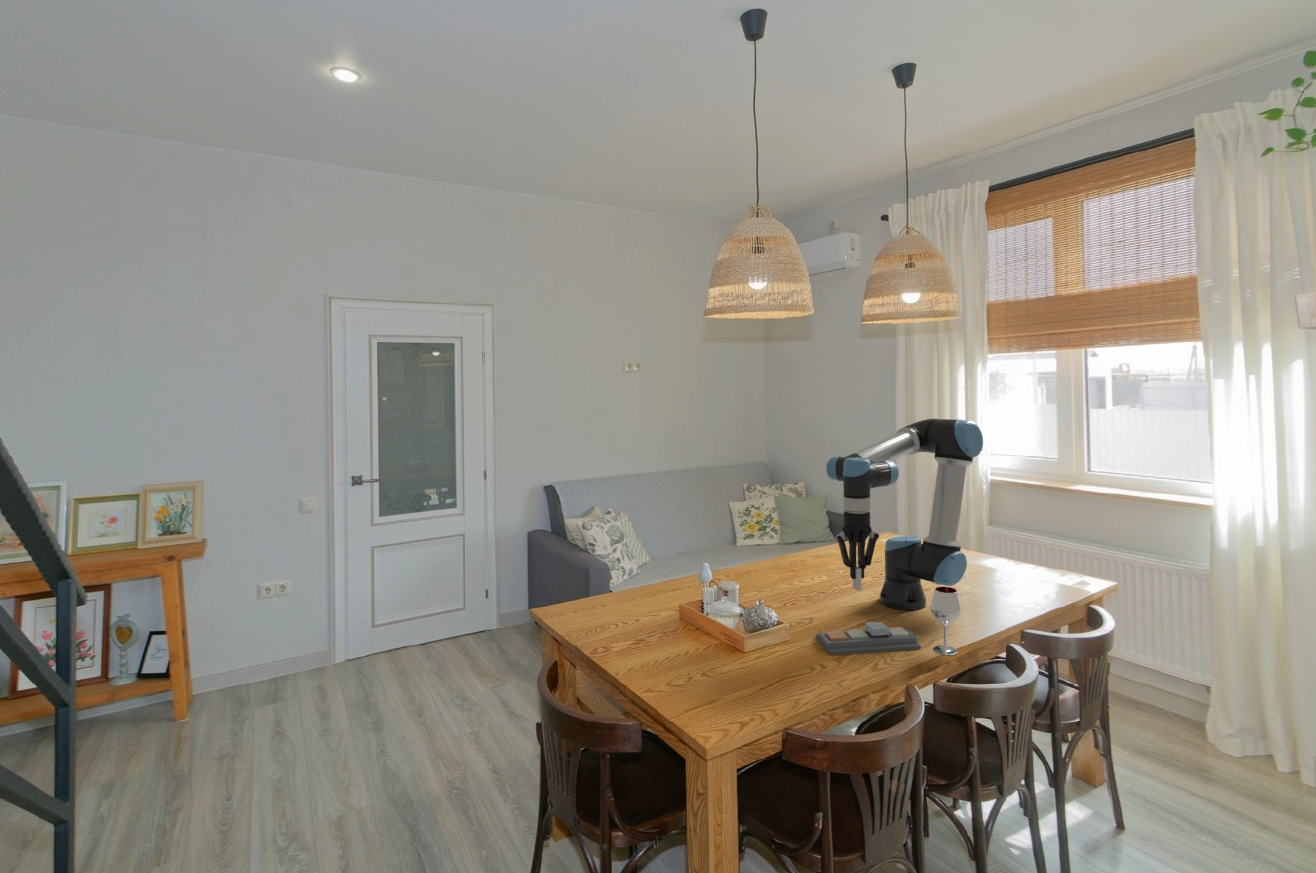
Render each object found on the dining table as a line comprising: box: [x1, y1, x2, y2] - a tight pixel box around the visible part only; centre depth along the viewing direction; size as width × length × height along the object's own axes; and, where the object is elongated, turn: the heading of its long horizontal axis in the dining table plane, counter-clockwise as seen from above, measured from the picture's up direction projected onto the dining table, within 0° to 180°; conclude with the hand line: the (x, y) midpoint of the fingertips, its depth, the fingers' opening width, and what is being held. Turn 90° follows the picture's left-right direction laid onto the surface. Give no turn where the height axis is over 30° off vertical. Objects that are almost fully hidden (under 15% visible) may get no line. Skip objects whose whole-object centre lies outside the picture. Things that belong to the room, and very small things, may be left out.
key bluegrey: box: [865, 621, 890, 636], centre depth 200 cm, size 5×5×2 cm
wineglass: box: [929, 586, 962, 656], centre depth 193 cm, size 8×8×18 cm
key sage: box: [845, 629, 868, 640], centre depth 200 cm, size 5×5×2 cm
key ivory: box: [888, 626, 909, 637], centre depth 201 cm, size 5×5×2 cm
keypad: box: [815, 626, 922, 656], centre depth 200 cm, size 27×13×2 cm, turn 95°
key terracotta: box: [825, 630, 848, 641], centre depth 199 cm, size 5×5×2 cm
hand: (857, 588), depth 199 cm, fingers closed
